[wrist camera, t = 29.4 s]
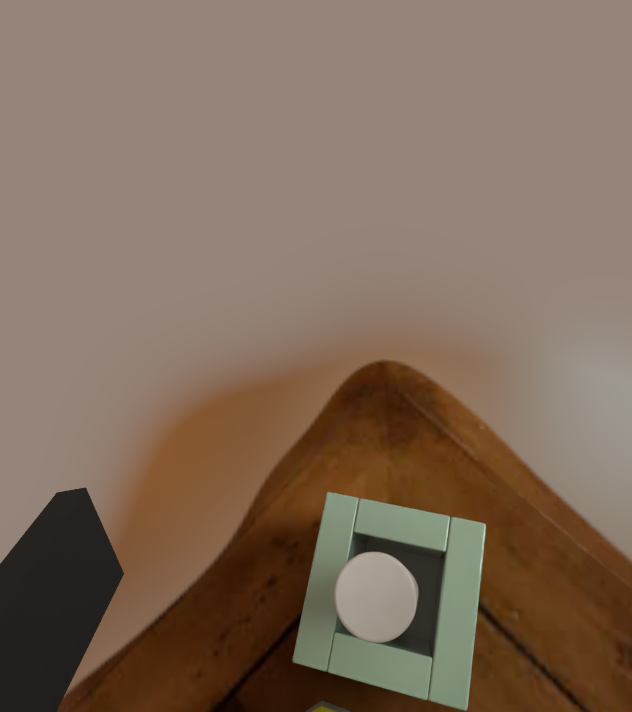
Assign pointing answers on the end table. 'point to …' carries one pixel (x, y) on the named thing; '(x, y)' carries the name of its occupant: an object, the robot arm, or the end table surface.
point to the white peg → (375, 597)
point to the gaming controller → (326, 708)
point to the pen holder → (434, 606)
